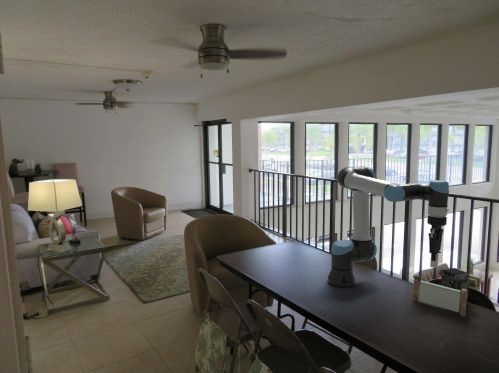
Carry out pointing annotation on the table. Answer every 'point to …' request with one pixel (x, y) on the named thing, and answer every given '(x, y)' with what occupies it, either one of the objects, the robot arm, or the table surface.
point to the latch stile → (463, 302)
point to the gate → (440, 296)
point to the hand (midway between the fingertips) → (433, 267)
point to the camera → (455, 279)
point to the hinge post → (416, 287)
